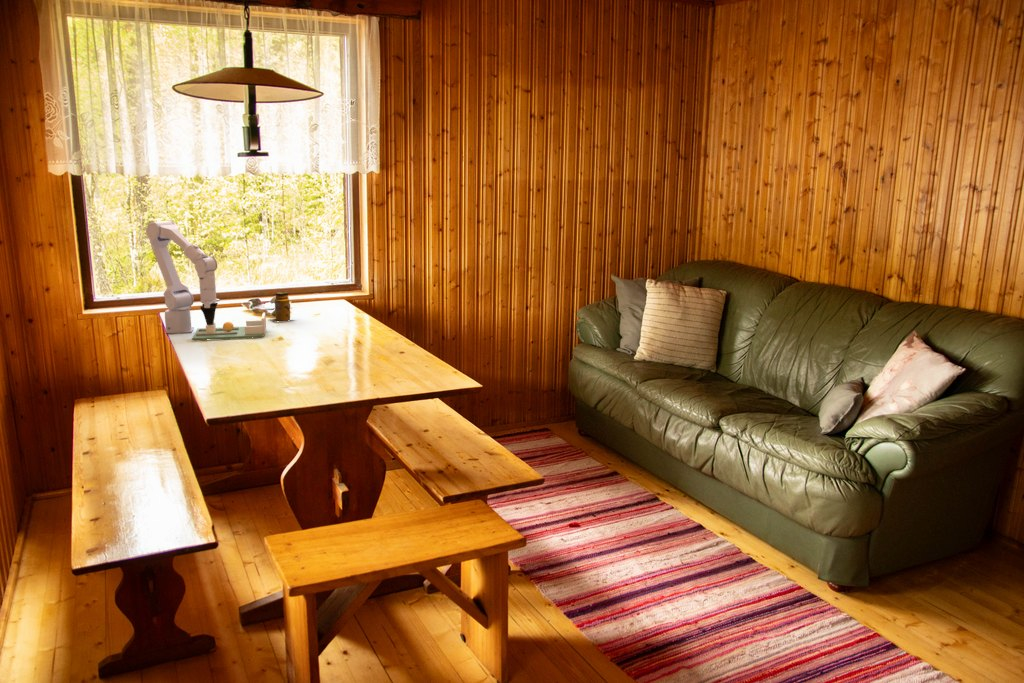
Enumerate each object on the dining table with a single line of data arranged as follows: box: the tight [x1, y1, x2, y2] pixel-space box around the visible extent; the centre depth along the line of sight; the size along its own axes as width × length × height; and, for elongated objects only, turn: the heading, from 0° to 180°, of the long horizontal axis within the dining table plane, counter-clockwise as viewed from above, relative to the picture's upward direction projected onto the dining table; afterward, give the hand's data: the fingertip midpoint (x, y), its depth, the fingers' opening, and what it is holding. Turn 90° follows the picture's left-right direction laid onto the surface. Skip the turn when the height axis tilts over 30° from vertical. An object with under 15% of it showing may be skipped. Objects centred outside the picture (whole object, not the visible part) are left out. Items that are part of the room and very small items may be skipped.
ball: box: [222, 321, 235, 332], centre depth 321 cm, size 4×4×4 cm
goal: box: [244, 312, 267, 335], centre depth 323 cm, size 8×12×6 cm, turn 15°
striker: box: [205, 317, 217, 333], centre depth 319 cm, size 3×6×7 cm, turn 15°
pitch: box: [191, 326, 265, 341], centre depth 321 cm, size 26×18×2 cm
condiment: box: [268, 291, 291, 323], centre depth 348 cm, size 7×8×12 cm
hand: (210, 322), depth 319 cm, fingers open, 4 cm apart
